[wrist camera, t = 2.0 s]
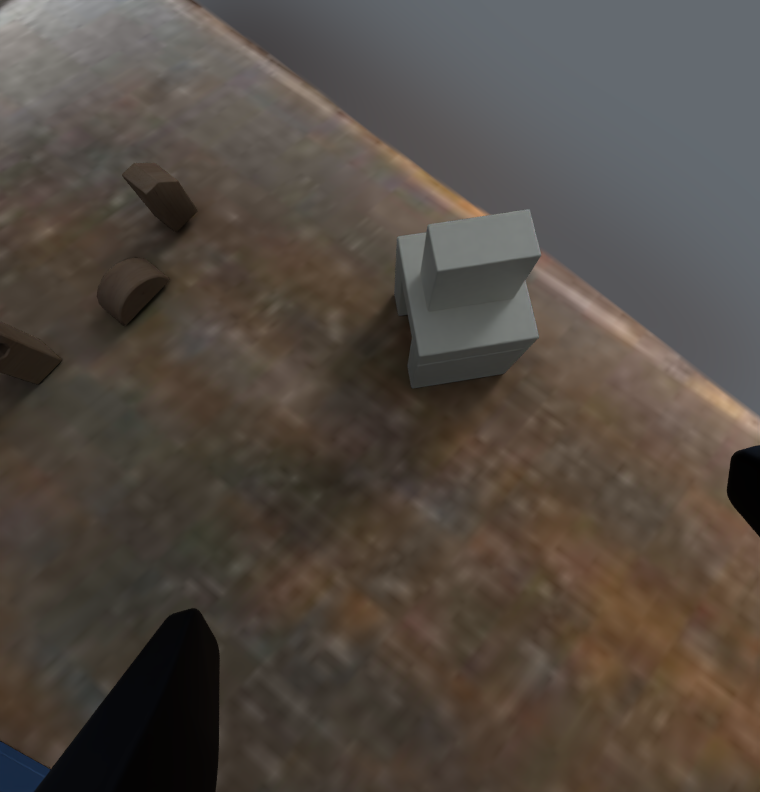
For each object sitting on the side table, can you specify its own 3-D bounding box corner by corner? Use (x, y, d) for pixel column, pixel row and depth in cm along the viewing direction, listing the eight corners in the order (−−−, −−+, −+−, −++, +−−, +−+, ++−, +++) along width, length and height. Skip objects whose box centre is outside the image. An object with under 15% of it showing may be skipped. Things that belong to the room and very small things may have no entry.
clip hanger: (504, 374, 22) (574, 302, 14) (411, 389, 22) (426, 325, 14) (483, 279, 23) (537, 160, 15) (394, 293, 23) (398, 180, 15)
